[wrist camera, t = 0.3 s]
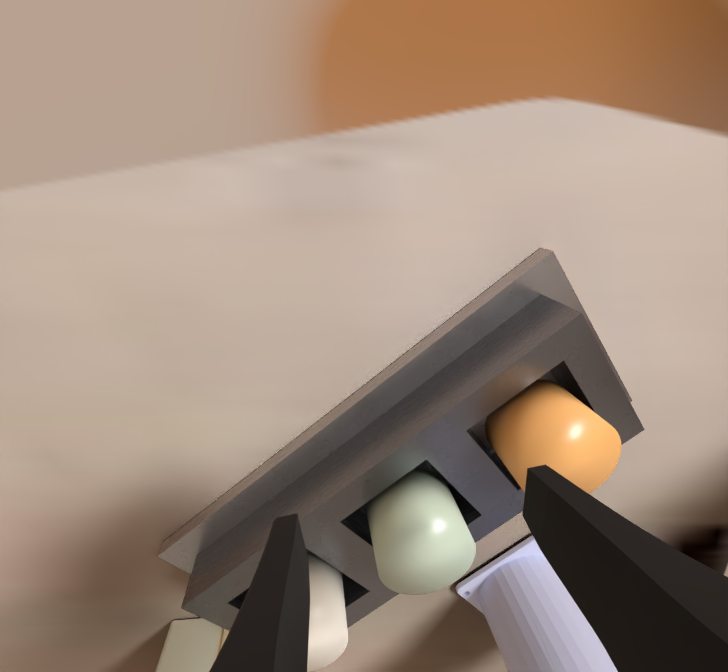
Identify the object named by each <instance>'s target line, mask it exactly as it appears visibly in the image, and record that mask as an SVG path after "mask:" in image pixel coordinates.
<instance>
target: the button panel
mask: <svg viewBox="0 0 728 672" xmlns="http://www.w3.org/2000/svg"><path fill="white" fill-rule="evenodd" d="M537 379H544V380H550V381H553V382H555V383H557V384H559V385H560V386H562V387H563V388H564V389H565V390H567V391H568V392H569V393H571V394H572V395H573V396H574V397H576V398H577V399H578V400H579V401H581V402H582V403H583V404H585V405H586V406H587V407H588V408H590V409H591V410H592V411H594V412H595V413H596V414H597V415H599V416H600V417H601V418H602V419H604V420H605V421H606V422H608V423H609V424H610V425H611V426H612V427H614V428H615V429H616V431H617V432H618V434H619V436H620V439H621V445H622V444H623V443H625V442H626V441H628V440H629V439H631V438H632V437H634V436H635V435H637V434H638V433H640V432H641V431H643V430H644V428H643V426H642V424H641V422H640V420H639V418H638V417H637V415H636V413H635V411H634V409H633V407H632V405H631V403H630V402H631V401H632V399H631V398H630V396H629V394H628V392H627V390H626V388H625V386H624V384H623V382H622V381H621V379H620V377H619V375H618V373H617V371H616V369H615V367H614V365H613V364H612V362H611V360H610V358H609V356H608V354H607V352H606V350H605V348H604V347H603V345H602V343H601V341H600V339H599V337H598V335H597V333H596V331H595V330H594V328H593V326H592V324H591V322H590V320H589V318H588V316H587V314H586V313H585V311H584V309H583V307H582V305H581V303H580V301H579V299H578V297H577V296H576V294H575V292H574V290H573V288H572V286H571V284H570V282H569V280H568V279H567V277H566V275H565V273H564V271H563V269H562V267H561V265H560V264H559V262H558V260H557V258H556V256H555V254H554V252H553V251H551V250H547V249H543V248H540V249H539V250H537V251H536V252H535V253H534V254H532V255H531V256H530V257H528V258H527V259H526V260H525V261H523V262H522V263H521V264H519V265H518V266H517V267H516V268H514V269H513V270H512V271H510V272H509V273H508V274H507V275H505V276H504V277H503V278H501V279H500V280H499V281H498V282H496V283H495V284H494V285H492V286H491V287H490V288H489V289H487V290H486V291H485V292H483V293H482V294H481V295H480V296H478V297H477V298H476V299H474V300H473V301H472V302H471V303H469V304H468V305H467V306H465V307H464V308H463V309H462V310H460V311H459V312H458V313H456V314H455V315H454V316H453V317H451V318H450V319H449V320H447V321H446V322H445V323H444V324H442V325H441V326H440V327H438V328H437V329H436V330H435V331H433V332H432V333H431V334H429V335H428V336H427V337H426V338H424V339H423V340H422V341H420V342H419V343H418V344H417V345H415V346H414V347H413V348H411V349H410V350H409V351H408V352H406V353H405V354H404V355H402V356H401V357H400V358H399V359H397V360H396V361H395V362H393V363H392V364H391V365H390V366H388V367H387V368H386V369H384V370H383V371H382V372H381V373H379V374H378V375H377V376H375V377H374V378H373V379H372V380H370V381H369V382H368V383H366V384H365V385H364V386H363V387H361V388H360V389H359V390H357V391H356V392H355V393H354V394H352V395H351V396H350V397H348V398H347V399H346V400H345V401H343V402H342V403H341V404H339V405H338V406H337V407H336V408H334V409H333V410H332V411H330V412H329V413H328V414H327V415H325V416H324V417H323V418H321V419H320V420H319V421H318V422H316V423H315V424H314V425H312V426H311V427H310V428H309V429H307V430H306V431H305V432H303V433H302V434H301V435H300V436H298V437H297V438H296V439H294V440H293V441H292V442H291V443H289V444H288V445H287V446H285V447H284V448H283V449H282V450H280V451H279V452H278V453H276V454H275V455H274V456H273V457H271V458H270V459H269V460H267V461H266V462H265V463H264V464H262V465H261V466H260V467H259V468H257V469H256V470H255V471H253V472H252V473H251V474H250V475H248V476H247V477H246V478H244V479H243V480H242V481H241V482H239V483H238V484H237V485H235V486H234V487H233V488H232V489H230V490H229V491H228V492H226V493H225V494H224V495H223V496H221V497H220V498H219V499H217V500H216V501H215V502H214V503H212V504H211V505H210V506H208V507H207V508H206V509H205V510H203V511H202V512H201V513H199V514H198V515H197V516H196V517H194V518H193V519H192V520H190V521H189V522H188V523H187V524H185V525H184V526H183V527H181V528H180V529H179V530H178V531H176V532H175V533H174V534H172V535H171V536H170V537H169V538H167V539H166V540H165V541H163V544H162V546H161V549H160V551H159V554H158V556H157V557H159V558H161V559H163V560H164V561H166V562H168V563H170V564H172V565H174V566H176V567H178V568H179V569H181V570H183V571H185V572H187V573H189V574H191V576H190V580H189V583H188V586H187V590H186V593H185V597H184V600H183V604H182V607H181V608H182V609H184V610H186V611H189V612H191V613H193V614H195V615H197V616H199V617H201V618H203V619H205V620H207V621H209V622H211V623H213V624H216V625H218V626H220V627H222V628H224V629H226V630H228V631H230V629H231V627H232V625H233V623H234V621H235V618H236V616H237V614H238V612H239V610H240V608H241V606H242V603H243V601H244V599H245V596H246V594H247V592H248V589H249V587H250V584H251V582H252V580H253V577H254V575H255V572H256V570H257V567H258V565H259V562H260V559H261V557H262V554H263V551H264V549H265V546H266V543H267V540H268V537H269V534H270V531H271V528H272V524H273V521H274V520H275V519H276V518H277V517H282V516H287V515H292V514H298V518H299V523H300V527H301V531H302V535H303V539H304V543H305V548H306V551H311V552H312V553H314V554H315V555H317V556H318V557H320V558H321V559H323V560H324V561H326V562H327V563H329V564H330V565H332V566H333V567H335V568H336V569H338V570H339V571H341V572H342V579H343V589H344V599H345V610H346V620H347V628H348V627H350V626H351V625H353V624H354V623H356V622H357V621H359V620H360V619H362V618H363V617H365V616H366V615H368V614H369V613H371V612H372V611H374V610H375V609H377V608H378V607H380V606H381V605H383V604H384V603H386V602H387V601H389V600H390V599H392V598H393V597H395V596H396V595H398V594H399V593H397V592H395V591H392V590H390V589H389V588H387V587H386V586H385V585H384V584H383V583H382V582H381V580H380V578H379V575H378V570H377V565H376V560H375V555H374V549H373V544H372V539H371V533H370V528H369V523H368V518H367V512H366V506H367V502H368V501H370V500H371V499H372V498H374V497H375V496H377V495H378V494H379V493H381V492H382V491H383V490H385V489H386V488H388V487H389V486H390V485H392V484H393V483H395V482H396V481H397V480H399V479H400V478H401V477H403V476H404V475H406V474H407V473H408V472H410V471H411V470H426V471H430V472H433V473H435V474H437V475H439V476H440V477H441V478H442V479H443V480H444V481H445V482H446V484H447V485H448V487H449V489H450V491H451V494H452V496H453V498H454V500H455V502H456V504H457V506H458V508H459V510H460V512H461V515H462V517H463V519H464V521H465V523H466V525H467V527H468V529H469V531H470V533H471V536H472V538H473V540H474V542H477V541H478V540H480V539H481V538H483V537H484V536H486V535H487V534H489V533H490V532H492V531H493V530H495V529H496V528H498V527H499V526H501V525H502V524H504V523H505V522H507V521H508V520H510V519H511V518H513V517H514V516H516V515H517V514H519V513H520V512H522V511H523V506H524V496H525V493H524V491H523V490H522V488H521V487H520V486H519V484H518V483H517V481H516V480H515V479H514V477H513V476H512V474H511V473H510V472H509V470H508V469H507V467H506V466H505V465H504V463H503V462H502V460H501V459H500V458H499V456H498V455H497V453H496V452H495V451H494V449H493V448H492V446H491V445H490V444H489V442H488V440H487V438H486V434H485V422H486V418H487V415H489V414H490V413H492V412H493V411H494V410H496V409H497V408H498V407H500V406H501V405H503V404H504V403H505V402H507V401H508V400H510V399H511V398H512V397H514V396H515V395H516V394H518V393H519V392H521V391H522V390H523V389H525V388H526V387H528V386H529V385H530V384H532V383H533V382H534V381H536V380H537Z"/></svg>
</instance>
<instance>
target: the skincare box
mask: <svg viewBox="0 0 728 672" xmlns="http://www.w3.org/2000/svg"><path fill="white" fill-rule="evenodd" d="M228 633H229V631H228V630H226V629H224V628H222V627H220V626H218V625H216V624H213V623H211V622H209V621H207V620H205V619H203V618H198V619H185V620H174V621H172V622H171V625H170V628H169V631H168V634H167V637H166V640H165V643H164V646H163V649H162V652H161V655H160V659H159V662H158V665H157V668H156V671H155V672H209V671H210V669H211V667H212V665H213V663H214V661H215V660H216V658H217V656H218V654H219V652H220V650H221V648H222V646H223V644H224V642H225V640H226V638H227V635H228Z"/></svg>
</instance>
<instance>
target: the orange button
mask: <svg viewBox="0 0 728 672" xmlns="http://www.w3.org/2000/svg"><path fill="white" fill-rule="evenodd" d="M485 434H486V438H487V440H488V442H489V444H490V445H491V446H492V448H493V449H494V451H495V452H496V453H497V455H498V456H499V458H500V459H501V460H502V462H503V463H504V465H505V466H506V467H507V469H508V470H509V472H510V473H511V474H512V476H513V477H514V479H515V480H516V481H517V483H518V484H519V486H520V487H521V488H522V490H523V491H524V493H525V486H526V476H527V468H530V467H535V466H540V465H547V466H549V467H550V468H552V469H553V470H555V471H556V472H557V473H559V474H560V475H562V476H563V477H565V478H566V479H568V480H569V481H571V482H572V483H573V484H575V485H576V486H578V487H579V488H581V489H582V490H584V491H585V492H586V493H588V494H589V493H591V492H592V491H594V490H595V489H596V488H598V487H599V486H600V485H601V484H602V483H603V482H604V481H605V480H606V479H607V478H608V477H609V476H610V475H611V473H612V472H613V470H614V469H615V467H616V465H617V463H618V460H619V458H620V454H621V439H620V436H619V434H618V432H617V431H616V429H615V428H614V427H612V426H611V425H610V424H609V423H608V422H606V421H605V420H604V419H602V418H601V417H600V416H599V415H597V414H596V413H595V412H594V411H592V410H591V409H590V408H588V407H587V406H586V405H585V404H583V403H582V402H581V401H579V400H578V399H577V398H576V397H574V396H573V395H572V394H571V393H569V392H568V391H567V390H565V389H564V388H563V387H562V386H560V385H559V384H557V383H555V382H553V381H550V380H544V379H537V380H536V381H534V382H533V383H532V384H530V385H529V386H528V387H526V388H525V389H523V390H522V391H521V392H519V393H518V394H516V395H515V396H514V397H512V398H511V399H510V400H508V401H507V402H505V403H504V404H503V405H501V406H500V407H498V408H497V409H496V410H494V411H493V412H492V413H490V414H489V415H487V418H486V422H485Z"/></svg>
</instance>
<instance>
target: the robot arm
mask: <svg viewBox="0 0 728 672" xmlns="http://www.w3.org/2000/svg"><path fill="white" fill-rule="evenodd" d="M523 517H524V519H525V521H526V523H527V525H528V527H529V529H530V531H531V533H532V536H530V537H529V538H527V539H526V540H524V541H522V542H521V543H519V544H518V545H516V546H515V547H513V548H512V549H510V550H509V551H507V552H506V553H504V554H503V555H501V556H500V557H498V558H497V559H495V560H493V561H492V562H490V563H489V564H487V565H486V566H484V567H483V568H481V569H480V570H478V571H477V572H475V573H474V574H472V575H471V576H469V577H468V578H466V579H464V580H463V581H461V582H460V583H458V584H457V585H456V591H457V593H458V594H459V595H460V596H461V597H463V598H464V599H465V600H466V601H468V602H469V603H470V604H471V605H473V606H474V607H475V608H477V609H478V610H479V611H480V612H482V613H483V614H484V615H485V617H486V620H487V622H488V624H489V627H490V629H491V632H492V634H493V636H494V639H495V641H496V644H497V646H498V648H499V651H500V653H501V655H502V658H503V660H504V663H505V665H506V667H507V670H508V672H728V577H726V576H724V575H722V574H720V573H718V572H717V571H715V570H713V569H711V568H709V567H707V566H706V565H704V564H702V563H700V562H698V561H696V560H694V559H693V558H691V557H689V556H687V555H685V554H683V553H682V552H680V551H678V550H676V549H675V548H673V547H671V546H670V545H668V544H666V543H665V542H663V541H661V540H660V539H658V538H656V537H655V536H653V535H651V534H650V533H648V532H646V531H645V530H643V529H641V528H640V527H638V526H637V525H635V524H633V523H632V522H630V521H629V520H627V519H626V518H624V517H622V516H621V515H619V514H618V513H616V512H615V511H613V510H612V509H610V508H609V507H607V506H606V505H604V504H603V503H601V502H600V501H598V500H597V499H595V498H594V497H592V496H591V495H589V494H588V493H586V492H585V491H584V490H582V489H581V488H579V487H578V486H576V485H575V484H573V483H572V482H571V481H569V480H568V479H566V478H565V477H563V476H562V475H560V474H559V473H557V472H556V471H555V470H553V469H552V468H550V467H549V466H547V465H540V466H535V467H530V468H527V476H526V486H525V496H524V506H523ZM309 618H310V580H309V560H308V556H307V552H306V548H305V543H304V539H303V535H302V531H301V527H300V523H299V518H298V514H292V515H287V516H282V517H277V518H276V519H275V520H274V521H273V524H272V528H271V531H270V534H269V537H268V540H267V543H266V546H265V549H264V551H263V554H262V557H261V559H260V562H259V565H258V567H257V570H256V572H255V575H254V577H253V580H252V582H251V584H250V587H249V589H248V592H247V594H246V596H245V599H244V601H243V603H242V606H241V608H240V610H239V612H238V614H237V616H236V618H235V621H234V623H233V625H232V627H231V629H230V631H229V633H228V635H227V638H226V640H225V642H224V644H223V646H222V648H221V650H220V652H219V654H218V656H217V658H216V660H215V661H214V663H213V665H212V667H211V669H210V671H209V672H307V661H308V640H309Z"/></svg>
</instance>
